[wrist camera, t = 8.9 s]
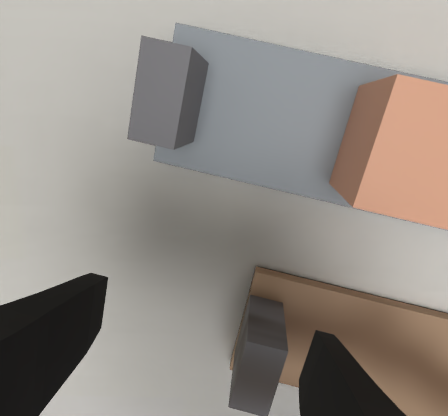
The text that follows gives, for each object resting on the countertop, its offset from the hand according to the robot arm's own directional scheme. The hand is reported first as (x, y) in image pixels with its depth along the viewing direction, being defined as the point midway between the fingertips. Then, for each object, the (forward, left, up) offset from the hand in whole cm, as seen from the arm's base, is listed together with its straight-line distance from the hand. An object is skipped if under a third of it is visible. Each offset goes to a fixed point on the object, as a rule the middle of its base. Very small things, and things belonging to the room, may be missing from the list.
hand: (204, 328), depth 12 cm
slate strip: (+7, -3, -9) cm, 12 cm away
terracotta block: (+7, -7, -8) cm, 13 cm away
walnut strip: (-5, -10, -9) cm, 15 cm away
